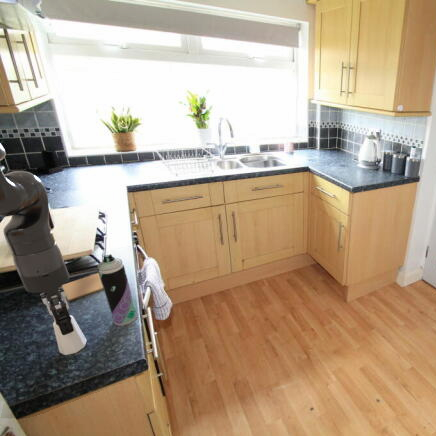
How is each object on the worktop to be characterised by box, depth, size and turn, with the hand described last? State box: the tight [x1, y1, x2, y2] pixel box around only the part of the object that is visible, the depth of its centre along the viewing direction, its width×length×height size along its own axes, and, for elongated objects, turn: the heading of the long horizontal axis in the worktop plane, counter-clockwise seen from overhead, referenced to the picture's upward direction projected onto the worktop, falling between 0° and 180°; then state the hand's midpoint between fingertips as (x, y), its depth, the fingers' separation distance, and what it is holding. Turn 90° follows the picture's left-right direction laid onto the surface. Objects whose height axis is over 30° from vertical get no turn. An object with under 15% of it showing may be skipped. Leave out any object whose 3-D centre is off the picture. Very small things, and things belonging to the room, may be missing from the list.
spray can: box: [97, 253, 138, 327], centre depth 83 cm, size 6×6×20 cm
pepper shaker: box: [51, 314, 88, 356], centre depth 75 cm, size 5×5×11 cm
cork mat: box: [62, 272, 104, 302], centre depth 98 cm, size 12×10×1 cm
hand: (65, 326), depth 75 cm, fingers open, 4 cm apart
